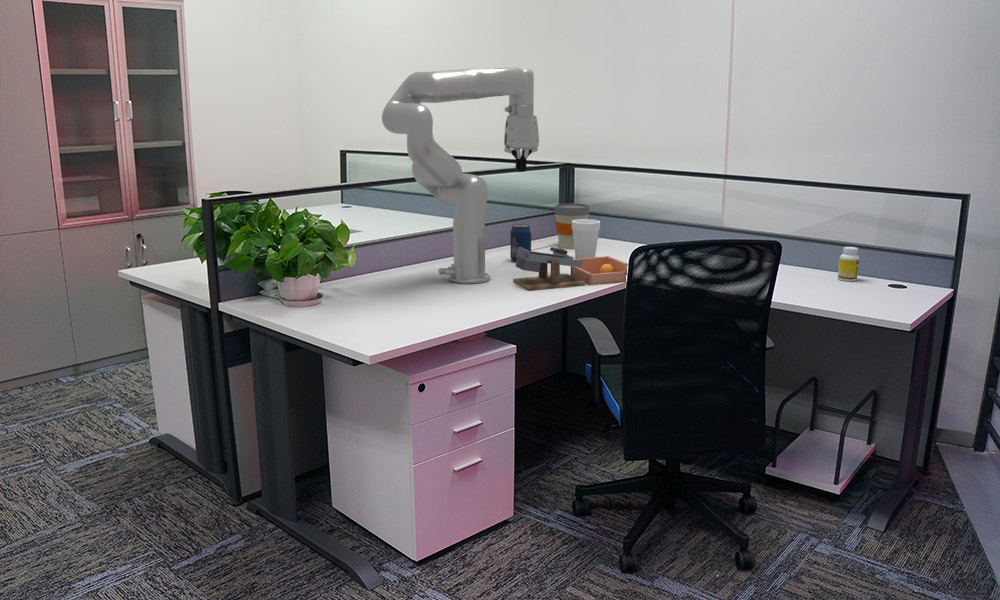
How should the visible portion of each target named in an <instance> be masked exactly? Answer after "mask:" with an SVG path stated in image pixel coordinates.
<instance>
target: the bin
mask: <svg viewBox="0 0 1000 600" xmlns="http://www.w3.org/2000/svg"><path fill="white" fill-rule="evenodd" d="M573 260H581V261H582V265H581V268H580V267H573V266H570V275H571V276H573V277H575V278H577V279H580V280H582V281H584V282H585V285H587V286H594V285H596V286H597V285H605V284H615V283H626V282H625V281H626V275H627V276H628V274H627V266H628V267H629V263H628V262H624V261H622V260H619V259H618V258H615V257H613V256H610V255H607V256H595V257H592V258H580V259H576V258H573ZM604 264H610V265H611V266H612V267H613V270H614V271H613V272H610V273H601V272H600V269H601V267H602V266H603V265H604Z"/></svg>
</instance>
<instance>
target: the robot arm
mask: <svg viewBox="0 0 1000 600" xmlns="http://www.w3.org/2000/svg"><path fill="white" fill-rule="evenodd" d="M534 81H535V74H534V71H533V70H532V69H530V68H520V67H498V68H496V67H495V68H492V69H486V68H485V69H481V68H461V69H460V68H459V69H450V70H448V69H447V70H437V71H436V70H435V71H434V70H433V71H416V72H413V73H411V74H410V75H408V76H407V77H406V78H405V80H404V81H403V82H402V83H401V85H399V87H398V88H397V89H396V90H395V92H394V93H393V95H392V97H391V98H390V99H389V100H388V102H387V103H386V105H385V107H384V108H383V110H382V114H381V121H382V125H383V127H384V128H385V129H386V130H387V131H388V132H390V133H393V134H397V135H398V134H399V135H406V149H407V154H408V157H409V159H410V161H411V162H412V163H411V172H412V175H413V178H414V179H415V181H416V182H417V183H418V184H419V185H420V186H421V187H422V188H424V190H426V191H427V192H428V193H430V194H431V195H432V196H434V197H435V198H436V199H437V200H439V201H440V202H442V203H445V204H449V205H454V206H457V207H456V209H455V213H454V214H453V217H452V220H453V221H452V229H453V230H452V234H453V235H452V237H453V239H452V240H453V242H452V243H453V263H451V264H450V266H448V267H442V268H441V267H439V268H438V269H437V271H438V272H437V273H438V275H441V276H442V275H444V276H448V280H449V281H451V282H453V283H456V284H457V283H458V284H480V283H486V282H488V281H490V280H491V274H489V273H487V272H486V226H485V225H486V208H487V202H488V195H489V188H488V184H487V183H486V181H485V180H484V179H483V178H482V177H480V176H479V175H476V174H472V173H463V169H462V166H461V165H460V163H459V161H457V159H455V158H454V156H452V155H451V154H450V153H448V151H446V150H445V149H444V148H443V147H442V146H440V145H439V143H438V142H436V140H435V139H434V134H433V125H434V121H433V120H434V119H433V115H432V113H431V111H430V109H429V108H428V107H427V106H426V105H424V104H425V103H426V104H438V103H449V102H457V101H468V100H469V101H470V100H479V99H484V98H485V99H486V98H494V97H504V96H505V97H506V96H508V106H506V107H504V112H507V113H508V115H506V119H505V126H504V136H503V138H504V139H503V140H504V142H503V143H504V150H503V152H505V153H508V154H511V155H512V156H513V157H514V159H515V169H516V171H517V172H519V173H521V172H523V173H524V172H526V169H527V159H528V158H529V156H530V155H532V153H536V152H538V150H539V149H538V148H539V146H540V136H539V135H540V133H539V125H538V123H539V122H538V119H537V115H534V113H535V112H534V109H535V107H534V105H535V104H534V102H535V101H534V100H535V99H534V98H535V97H534V96H535V91H534V88H535V85H534V84H535V82H534ZM422 103H424V104H422Z"/></svg>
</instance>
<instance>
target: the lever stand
mask: <svg viewBox="0 0 1000 600" xmlns="http://www.w3.org/2000/svg"><path fill="white" fill-rule="evenodd" d="M548 265H549V263H542V262H541V264H540V269H539V272H538V276H531V277H530V276H529V277H518V278H517V277H516V278H512V283H514V284H516V285H518V286H520V287H521V288H523V289H525V290H527V291H528V292H530V291H539V290H541V291H542V290H551V289H563V288H573V287H574V288H575V287H584V286H586V284H585V282H584V281H582V280H580V279H577V278H575V277H573V276H571V274H569V273H560V272H561V265H560V262H559V261H552V262H551V264H550V274H549V275H548V273H549V271H548V268H549V267H548Z"/></svg>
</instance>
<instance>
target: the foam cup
mask: <svg viewBox="0 0 1000 600" xmlns="http://www.w3.org/2000/svg"><path fill="white" fill-rule="evenodd" d="M600 229H601V221H600V220H597V219H589V218H588V219H578V220H573V221H572V230H573V239H574V248H575V249H574V255H575V259H580V258H592V257H596V252H597V245H598V240H599V232H600Z"/></svg>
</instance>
